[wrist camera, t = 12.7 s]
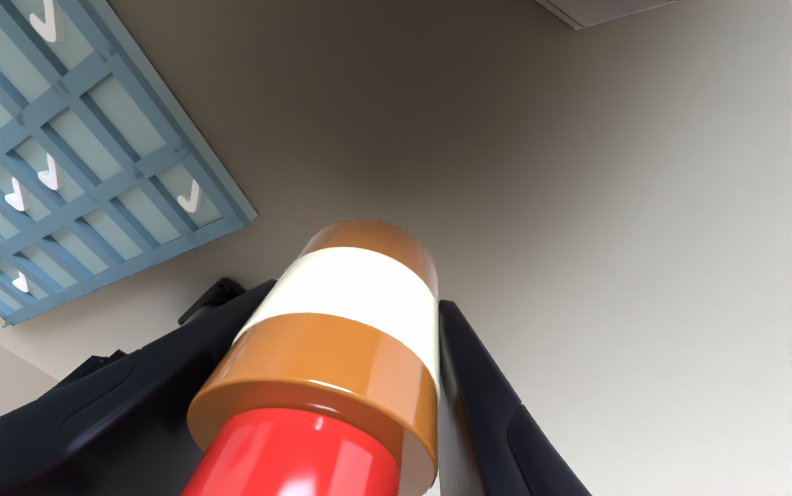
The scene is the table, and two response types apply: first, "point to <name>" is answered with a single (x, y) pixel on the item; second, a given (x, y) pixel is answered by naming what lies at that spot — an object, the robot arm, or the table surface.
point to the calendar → (94, 159)
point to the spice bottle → (329, 377)
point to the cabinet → (597, 10)
